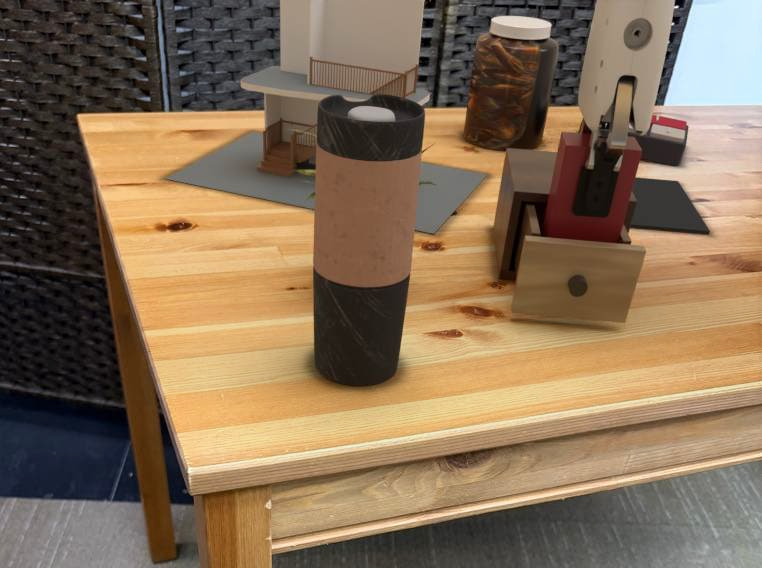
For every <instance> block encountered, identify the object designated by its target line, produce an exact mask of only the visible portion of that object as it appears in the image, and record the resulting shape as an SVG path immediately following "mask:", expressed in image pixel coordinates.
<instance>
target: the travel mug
mask: <svg viewBox="0 0 762 568" xmlns="http://www.w3.org/2000/svg"><path fill="white" fill-rule="evenodd" d="M425 122H426V109H425V108H424V107H423V105H422V106H421V105H420V104H418V103H416V102H414V101H412V100H409V99H406V98H402V97H398V96H393V95H387V94H375V95H373V96H372V97H371V98H370V99H368V100H366V101H360V102H352V101H347V100H346V99H344V98H343V96H342V95H338V94H337V95H331V96H328V97H326V98H323V99H322V100H321V101H320V102H319V104H318V113H317V147H316V181H315V209H314V213H313V214H314V218H313V249H312V250H313V252H312V287H313V288H312V292H313V293H312V295H313V298H312V299H313V300H312V301H313V358H314V365H315V368H316V370H317V372H319V374H320V375H322V376H323V377H325V378H326V379H328V380H329V381H332V382H335V383H338V384H342V385H346V386H354V387H355V386H356V387H357V386H359V387H363V386H372V385H377V384H381V383H383V382H386V381H388V380H389V379H391V378H392V377H393V376H394V375H395V373H396V372H397V370H398V366H399V359H400V354H401V348H402V347H401V346H402V339H403V331H404V326H405V325H404V324H405V316H406V309H407V303H408V302H407V301H408V296H409V295H408V294H409V287H410V280H411V270H412V264H413V263H412V261H413V251H414V241H415V231H416V230H415V220H416V209H417V199H418V188H419V177H420V166H421V162H422V156H423V153H422V151H423V145H424V144H423V143H424V134H425Z"/></svg>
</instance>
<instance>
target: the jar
mask: <svg viewBox="0 0 762 568" xmlns="http://www.w3.org/2000/svg"><path fill="white" fill-rule="evenodd" d="M488 30H489V31H487V32H485V33H483V34H481V35H479V36H478V38H477V39H476V45H475V49H474V54H473V61H472V66H471V67H472V68H471V75H470V82H469V87H468V95H467V96H468V97H467V105H466V111H465V119H464V128H463V138H464V139H465V140H466V141H467V142H469V143H471V144H473V145H475V146H479V147H481V148H486V149H491V150H497V151H506V149H507V148H513V149H525V150H533V149H536V148H538V147H539V146H541V144H542V142H543V138H544V133H545V129H546V128H545V127H546V123H547V119H548V113H549V108H550V102H551V97H552V92H553V86H554V82H555V81H554V80H555V76H556V70H557V65H558V58H559V48H560V47H559V43H558V42H557V41H556V40H555V39H553V38H552V37H551V31H552V23H551V22H550V21H548V20H545V19H541V18H536V17H530V16H520V15H500V16H495V17H492V18H491V20H490V26H489V29H488Z"/></svg>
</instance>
